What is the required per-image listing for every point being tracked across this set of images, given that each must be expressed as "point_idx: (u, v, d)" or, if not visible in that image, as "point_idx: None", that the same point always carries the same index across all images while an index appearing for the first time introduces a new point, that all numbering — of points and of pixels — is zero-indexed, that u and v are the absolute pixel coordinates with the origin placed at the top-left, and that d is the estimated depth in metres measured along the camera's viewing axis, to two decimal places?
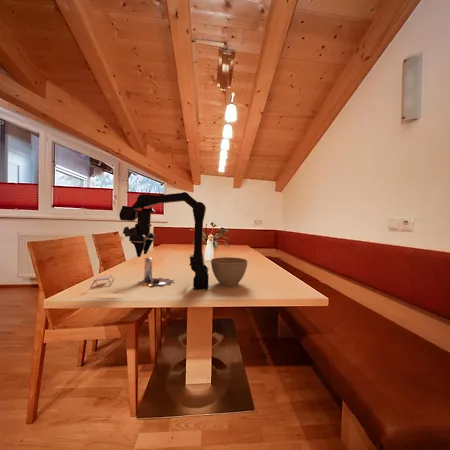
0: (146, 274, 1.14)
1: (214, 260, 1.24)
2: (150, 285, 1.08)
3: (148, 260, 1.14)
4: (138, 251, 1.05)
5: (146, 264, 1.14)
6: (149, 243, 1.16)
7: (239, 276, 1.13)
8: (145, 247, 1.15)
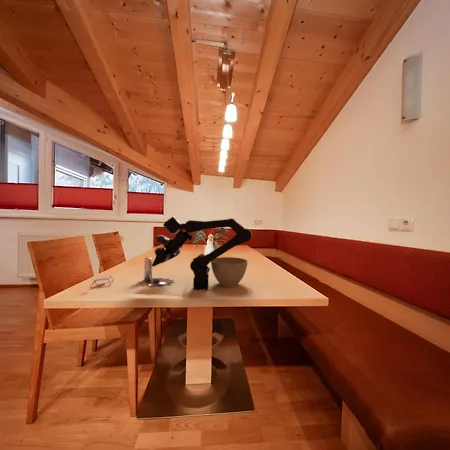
0: (146, 274, 1.14)
1: (214, 260, 1.23)
2: (150, 285, 1.08)
3: (148, 260, 1.14)
4: (155, 262, 1.09)
5: (146, 264, 1.14)
6: (170, 257, 1.19)
7: (239, 277, 1.13)
8: None
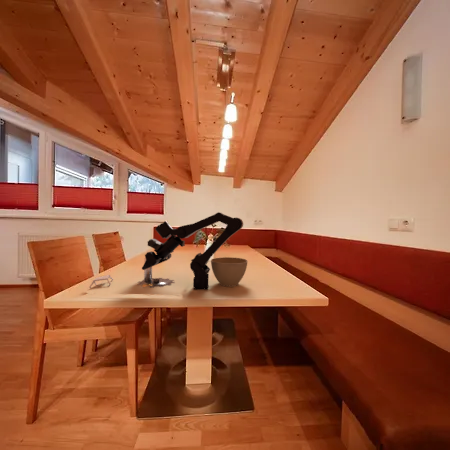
0: (146, 274, 1.14)
1: (214, 260, 1.24)
2: (150, 285, 1.08)
3: None
4: (145, 266, 1.10)
5: None
6: (161, 261, 1.20)
7: (239, 276, 1.13)
8: None
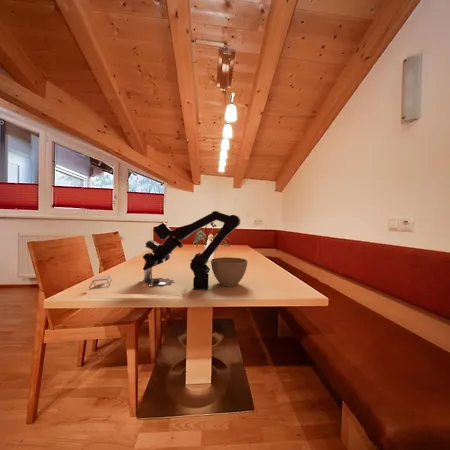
0: (146, 274, 1.14)
1: (214, 260, 1.24)
2: (150, 285, 1.08)
3: None
4: (146, 266, 1.13)
5: None
6: (157, 263, 1.18)
7: (239, 276, 1.14)
8: None
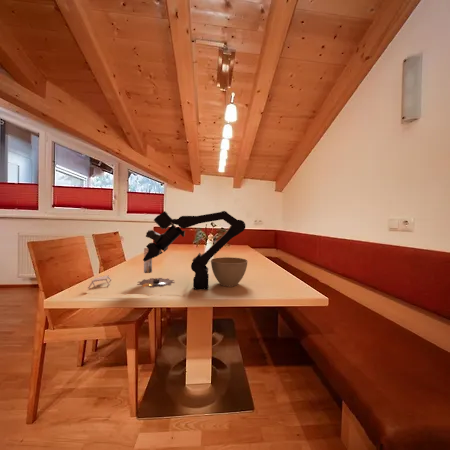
0: (146, 265, 1.09)
1: (214, 260, 1.24)
2: (150, 285, 1.08)
3: (148, 250, 1.09)
4: (147, 257, 1.08)
5: None
6: None
7: (239, 276, 1.14)
8: None
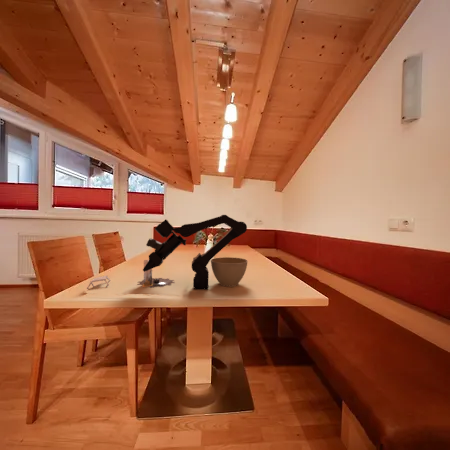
0: (147, 278, 1.07)
1: (214, 260, 1.24)
2: (150, 285, 1.08)
3: None
4: (147, 267, 1.04)
5: None
6: None
7: (239, 276, 1.14)
8: None
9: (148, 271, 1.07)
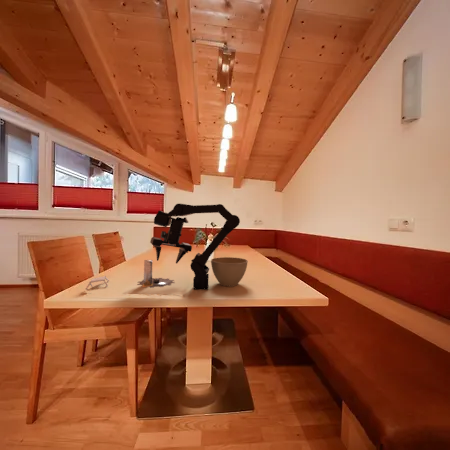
0: (147, 278, 1.07)
1: (214, 260, 1.24)
2: (150, 285, 1.08)
3: (149, 263, 1.07)
4: (156, 254, 1.10)
5: (147, 267, 1.07)
6: (180, 253, 1.13)
7: (239, 276, 1.13)
8: (178, 256, 1.15)
9: (148, 271, 1.07)
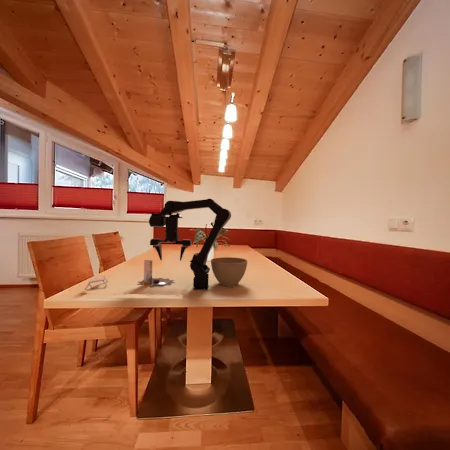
0: (147, 278, 1.07)
1: (214, 260, 1.24)
2: (150, 285, 1.08)
3: (149, 263, 1.07)
4: None
5: (147, 267, 1.07)
6: (181, 250, 1.12)
7: (239, 276, 1.13)
8: None
9: (148, 271, 1.07)
